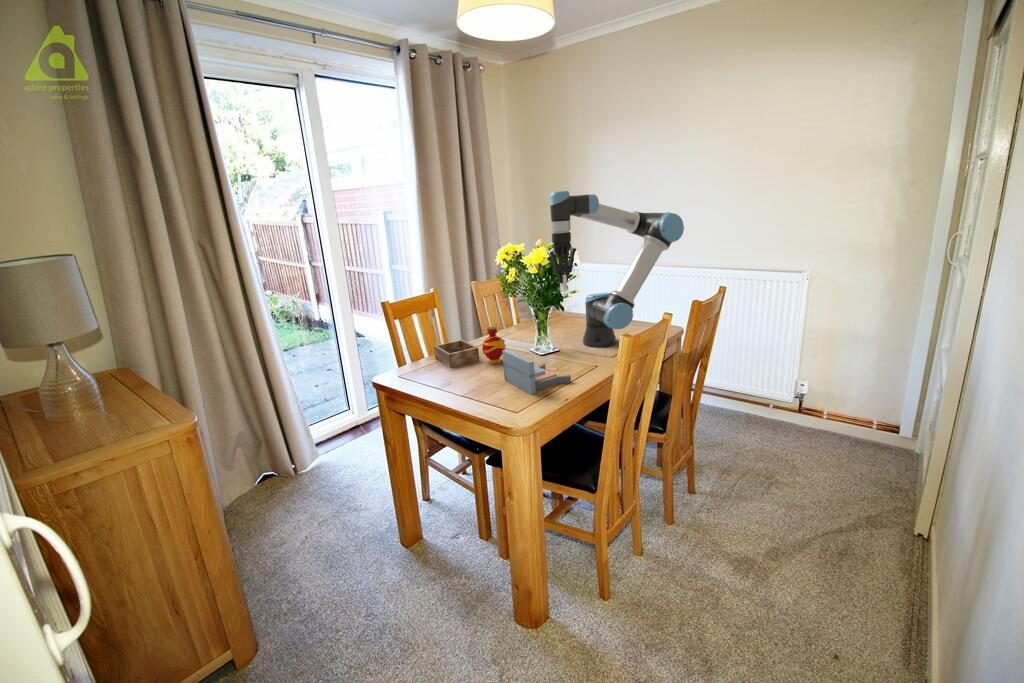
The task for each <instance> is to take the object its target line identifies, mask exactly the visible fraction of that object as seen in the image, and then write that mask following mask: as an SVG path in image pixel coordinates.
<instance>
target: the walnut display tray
mask: <svg viewBox="0 0 1024 683" xmlns="http://www.w3.org/2000/svg"><path fill="white" fill-rule="evenodd" d="M433 351H434V358H435V360H437V361H439V362H441V363H442V364H444V365H445V366H446V367H448V368H450V369H452V368H455V367H459V366H464V365H467V364H470V363H471V364H472V363H475V362H479V361H480V354H479V347H477V346H476V345H473V344H472V343H469V342H467V341H466V340H464V339H458V340H454V341H449V342H445V343H441V344H440V343H439V344H435V345H433Z"/></svg>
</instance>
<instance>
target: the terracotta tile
mask: <svg viewBox="0 0 1024 683" xmlns="http://www.w3.org/2000/svg"><path fill="white" fill-rule="evenodd" d="M541 369H542V368H541ZM543 370H545V369H543ZM555 376H558V375H557V373H555V372H552V371H550V370H547V369H546V370H545V375H542V376H539V377H535V382H537V381H540V380H544V379H547V378H551V377H555Z"/></svg>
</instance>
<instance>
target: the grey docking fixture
mask: <svg viewBox="0 0 1024 683" xmlns="http://www.w3.org/2000/svg"><path fill="white" fill-rule="evenodd" d="M502 352H503V354H502V363H503V373H504V374H503V376H504V381H506V382H507V383H509V384H511V385H513V386H514V387H516V388H518V389H520V390H522V391H523V392H526V393H527V394H529V395H531V396H532V395H535V394H537V390H542V389H544V388H547V387H552V386H554V385H557V384H569V383H572V378H571V377H572V376H571V374H570V375H569V374H567V375H557V376H555V377H551V378H547V379H544V380H540V381H537V382H535V377H539V376H542V375H545V370H547V368H546V363H542V364H540V365H538V366H536V365H535V362H534V360H531V359H530V358H526V357H524V356H522V355H520V354H518V353H516V352H514V351H511V350H509V349H506V348H505V350H502ZM541 368H542V369H541ZM543 369H545V370H543Z"/></svg>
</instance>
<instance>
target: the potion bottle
mask: <svg viewBox="0 0 1024 683" xmlns="http://www.w3.org/2000/svg"><path fill="white" fill-rule="evenodd" d="M497 333H498V330H497V326H489V327H487V334H488V335H489V336H488V337H486V338H485V339H484V341H483V343H482V353H483V354H484V355H485V356H486V358H487V359H489V363H490V364H497V363H501V361H502V360H501V358H502V357H503V352H502V350H506V346H507V345H506V344H505V339H503V337H500V336H498V335H497Z"/></svg>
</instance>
